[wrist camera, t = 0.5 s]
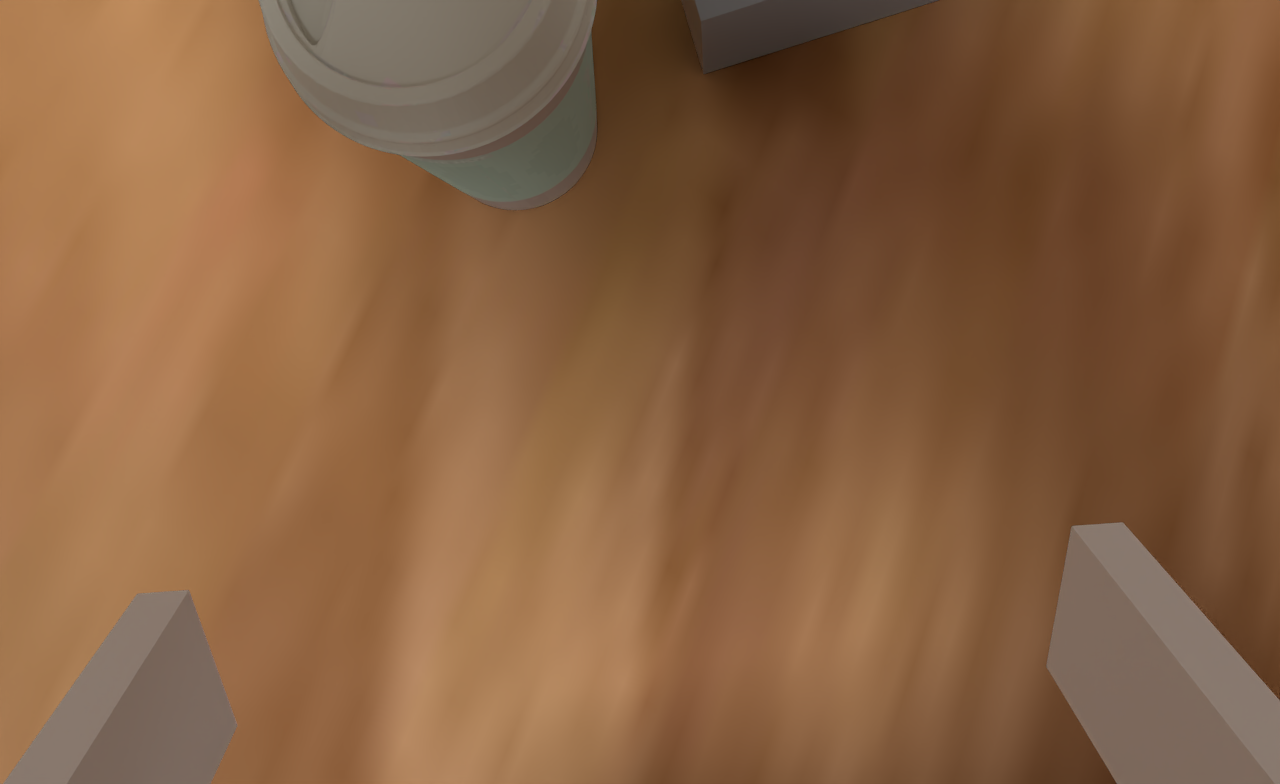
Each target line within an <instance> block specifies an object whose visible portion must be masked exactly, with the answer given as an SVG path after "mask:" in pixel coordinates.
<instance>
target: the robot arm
mask: <svg viewBox="0 0 1280 784" xmlns="http://www.w3.org/2000/svg"><path fill="white" fill-rule="evenodd" d="M1046 667H1047V669H1048V670H1049V672H1050V674H1051V675H1052V677H1053V679H1054V680H1055V682H1056V684H1057V685H1058V687H1059V688H1060V690H1061V692H1062V693H1063V695H1064V697H1065V698H1066V700H1067V702H1068V703H1069V705H1070V707H1071V708H1072V710H1073V712H1074V713H1075V715H1076V717H1077V718H1078V720H1079V722H1080V723H1081V725H1082V727H1083V728H1084V730H1085V732H1086V733H1087V735H1088V737H1089V738H1090V740H1091V742H1092V743H1093V745H1094V747H1095V748H1096V750H1097V752H1098V753H1099V755H1100V757H1101V758H1102V760H1103V762H1104V763H1105V765H1106V766H1107V768H1108V770H1109V771H1110V773H1111V775H1112V776H1113V778H1114V780H1115V781H1116V783H1117V784H1280V700H1279V699H1278V698H1277V697H1276V696H1275V695H1274V693H1273V692H1272V691H1271V690H1270V689H1269V688H1268V687H1267V686H1266V684H1265V683H1264V682H1263V681H1262V680H1261V679H1260V678H1259V676H1258V675H1257V674H1256V673H1255V672H1254V671H1253V670H1252V668H1251V667H1250V666H1249V665H1248V664H1247V663H1246V662H1245V660H1244V659H1243V658H1242V657H1241V656H1240V655H1239V654H1238V653H1237V651H1236V650H1235V649H1234V648H1233V647H1232V646H1231V645H1230V643H1229V642H1228V641H1227V640H1226V639H1225V638H1224V637H1223V635H1222V634H1221V633H1220V632H1219V631H1218V630H1217V629H1216V628H1215V626H1214V625H1213V624H1212V623H1211V622H1210V621H1209V620H1208V618H1207V617H1206V616H1205V615H1204V614H1203V613H1202V612H1201V610H1200V609H1199V608H1198V607H1197V606H1196V605H1195V604H1194V603H1193V601H1192V600H1191V599H1190V598H1189V597H1188V596H1187V595H1186V593H1185V592H1184V591H1183V590H1182V589H1181V588H1180V587H1179V585H1178V584H1177V583H1176V582H1175V581H1174V580H1173V579H1172V578H1171V576H1170V575H1169V574H1168V573H1167V572H1166V571H1165V570H1164V568H1163V567H1162V566H1161V565H1160V564H1159V563H1158V562H1157V560H1156V559H1155V558H1154V557H1153V556H1152V555H1151V554H1150V553H1149V551H1148V550H1147V549H1146V548H1145V547H1144V546H1143V545H1142V543H1141V542H1140V541H1139V540H1138V539H1137V538H1136V537H1135V535H1134V534H1133V533H1132V532H1131V531H1130V530H1129V529H1128V528H1127V526H1126V525H1125V524H1124V523H1123V522H1120V523H1106V524H1092V525H1078V526H1071V532H1070V537H1069V543H1068V548H1067V554H1066V559H1065V565H1064V570H1063V576H1062V581H1061V587H1060V592H1059V598H1058V603H1057V609H1056V615H1055V620H1054V626H1053V631H1052V637H1051V642H1050V648H1049V653H1048V659H1047V664H1046ZM236 727H237V723H236V720H235V717H234V714H233V712H232V709H231V706H230V703H229V700H228V698H227V695H226V692H225V689H224V687H223V684H222V681H221V678H220V675H219V673H218V670H217V667H216V664H215V661H214V659H213V656H212V653H211V650H210V647H209V645H208V642H207V639H206V636H205V634H204V631H203V628H202V625H201V622H200V620H199V617H198V614H197V611H196V608H195V606H194V603H193V600H192V597H191V594H190V592H189V590H182V591H169V592H155V593H141V594H137V595H136V596H135V598H134V599H133V601H132V602H131V603H130V605H129V606H128V608H127V609H126V610H125V612H124V613H123V615H122V616H121V618H120V619H119V620H118V622H117V623H116V625H115V626H114V627H113V629H112V630H111V632H110V633H109V635H108V636H107V637H106V639H105V640H104V642H103V643H102V644H101V646H100V647H99V649H98V650H97V652H96V653H95V654H94V656H93V657H92V659H91V660H90V661H89V663H88V664H87V666H86V667H85V669H84V670H83V671H82V673H81V674H80V676H79V677H78V678H77V680H76V681H75V683H74V684H73V686H72V687H71V688H70V690H69V691H68V693H67V694H66V695H65V697H64V698H63V700H62V701H61V703H60V704H59V705H58V707H57V708H56V710H55V711H54V712H53V714H52V715H51V717H50V718H49V720H48V721H47V722H46V724H45V725H44V727H43V728H42V729H41V731H40V732H39V734H38V735H37V737H36V738H35V739H34V741H33V742H32V744H31V745H30V747H29V748H28V749H27V751H26V752H25V754H24V755H23V756H22V758H21V759H20V761H19V762H18V764H17V765H16V766H15V768H14V769H13V771H12V772H11V773H10V775H9V776H8V778H7V779H6V781H5V782H4V783H3V784H211V781H212V779H213V777H214V775H215V773H216V771H217V768H218V766H219V764H220V762H221V760H222V758H223V756H224V753H225V751H226V749H227V747H228V745H229V743H230V740H231V738H232V736H233V734H234V732H235V730H236Z"/></svg>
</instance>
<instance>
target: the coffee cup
mask: <svg viewBox="0 0 1280 784" xmlns="http://www.w3.org/2000/svg"><path fill="white" fill-rule="evenodd" d="M259 3H260V6H261V10H262V13H263V18H264V23H265V27H266V32H267V35H268V38H269V41H270V44H271V47H272V49H273V52H274V54H275V56H276V58H277V60H278V62H279V64H280V66H281V68H282V70H283V71H284V73H285V75H286V76H287V78H288V79H289V81H290V82H291V84H292V86H293V87H294V89H295V90H296V92H297V93H298V95H299V96H300V97H301V99H302V100H303V101H304V102H305V103H306V105H307V106H308V107H309V108H310V109H311V110H312V111H313V112H314V113H315V114H316V115H317V116H318V117H319V118H320V119H322V120H323V121H324V122H325V123H326V124H328V125H329V126H330V127H332V128H333V129H335V130H336V131H338V132H339V133H341V134H342V135H344V136H346V137H348V138H349V139H351V140H353V141H355V142H358V143H360V144H362V145H365V146H367V147H370V148H373V149H376V150H379V151H383V152H387V153H392V154H397V155H400V156H402V157H404V158H406V159H407V160H409V161H411V162H412V163H414V164H416V165H417V166H419V167H421V168H423V169H424V170H426V171H428V172H429V173H431V174H433V175H435V176H436V177H438V178H440V179H441V180H443V181H445V182H446V183H448V184H450V185H452V186H453V187H455V188H457V189H458V190H460V191H462V192H464V193H466V194H467V195H469V196H471V197H473V198H475V199H476V200H478V201H480V202H482V203H484V204H486V205H489V206H492V207H495V208H500V209H506V210H525V209H531V208H536V207H539V206H542V205H545V204H547V203H550V202H552V201H554V200H555V199H557V198H559V197H560V196H562V195H563V194H565V193H566V192H567V191H568V190H569V189H571V188H572V187H573V186H574V185H575V184H576V183H577V181H578V180H579V179H580V178H581V176H582V175H583V174H584V172H585V170H586V169H587V167H588V165H589V163H590V161H591V158H592V156H593V153H594V150H595V145H596V140H597V111H596V94H595V79H594V64H593V49H592V35H591V29H592V25H593V22H594V17H595V12H596V5H597V0H259Z"/></svg>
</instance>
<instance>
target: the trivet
mask: <svg viewBox="0 0 1280 784" xmlns="http://www.w3.org/2000/svg"><path fill="white" fill-rule="evenodd" d="M935 1H938V0H681V2H682V5H683V8H684V12H685V15H686V18H687V22H688V25H689V28H690V32H691V35H692V38H693V41H694V45H695V48H696V51H697V55H698V58H699V61H700V64H701V68H702V71H703V74H706V73H709V72H712V71H716V70H719V69H722V68H725V67H728V66H731V65H735V64H738V63H741V62H744V61H747V60H751V59H754V58H757V57H760V56H763V55H766V54H770V53H773V52H776V51H779V50H782V49H785V48H789V47H792V46H795V45H798V44H801V43H805V42H808V41H811V40H814V39H817V38H820V37H824V36H827V35H830V34H833V33H836V32H840V31H843V30H846V29H849V28H852V27H855V26H859V25H862V24H865V23H868V22H871V21H874V20H878V19H881V18H884V17H887V16H890V15H894V14H897V13H900V12H903V11H906V10H909V9H913V8H916V7H919V6H922V5H925V4H929V3H932V2H935Z"/></svg>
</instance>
